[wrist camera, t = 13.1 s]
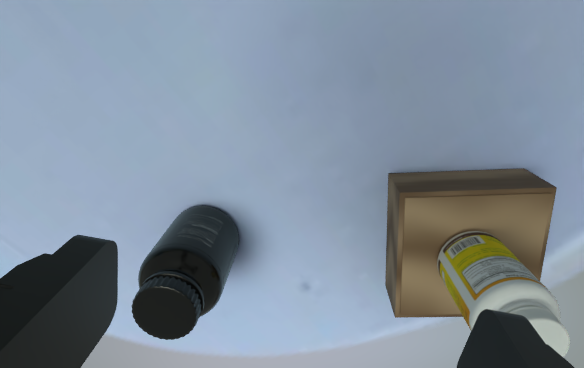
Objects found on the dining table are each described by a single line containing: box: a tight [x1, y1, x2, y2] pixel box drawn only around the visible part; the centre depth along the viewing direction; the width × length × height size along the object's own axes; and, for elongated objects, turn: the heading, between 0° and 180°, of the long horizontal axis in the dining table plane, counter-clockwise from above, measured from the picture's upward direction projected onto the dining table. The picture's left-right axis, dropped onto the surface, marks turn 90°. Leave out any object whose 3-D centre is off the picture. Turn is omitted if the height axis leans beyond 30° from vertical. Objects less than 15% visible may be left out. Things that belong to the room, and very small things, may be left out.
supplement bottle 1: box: [132, 206, 239, 340], centre depth 33 cm, size 7×7×12 cm
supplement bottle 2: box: [437, 231, 570, 357], centre depth 28 cm, size 6×6×10 cm
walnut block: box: [386, 168, 557, 317], centre depth 35 cm, size 12×12×5 cm
